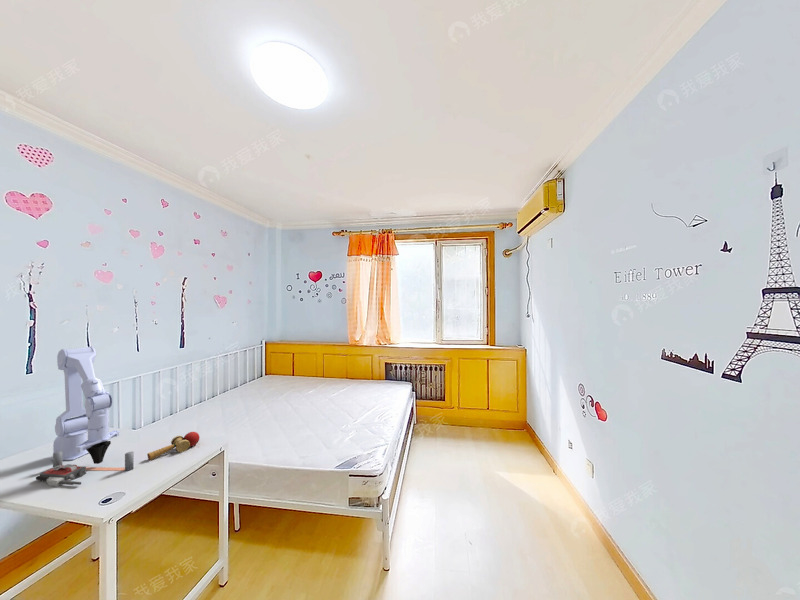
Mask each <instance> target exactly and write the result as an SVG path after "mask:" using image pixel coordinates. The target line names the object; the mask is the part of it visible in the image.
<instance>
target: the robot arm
mask: <svg viewBox="0 0 800 600" xmlns="http://www.w3.org/2000/svg"><path fill="white" fill-rule="evenodd" d="M96 354H97V352H96V348H95V347H93V346H87V347H78V348H77V347H76V348H65V349H64V348H62V349H60V350H59V351H58V353H57V356H56V360H57V361H56V363H57V368H58V369H57V370H60V371H63V375H64V392H65V395H64V397H65V411H63V412H62V413H61V414H59V415H58V416H57V417H56V419H55V425H54V432H55V434H56V436H57V437H56V438H55V439H54V441H53V445H52V446H53V447H52V449H53V450H52V451H53V452H52V454H53V453H55V452H58V451H63V458H62V461H74V460H76V459H78V458H81V457H83V456H86V455H87V454H89V456H91V459H92V462H93V464H94V465H95V464H96V465H97V464H102V463H103V462H104V458H105V454H106V452H107V450H108V449H109V447H110V445H111V444H112V442H111V439H112V438H115V437H119V436H120V430H113V431H109V430H110V426H109V425H110V423H109V422H110V421H109V420H110V419H109V418H110V415H109V414H110V408H111V407H112V405H113V397H112V395H111V393H110V392H109V391H108V390H106V389H105V388H104V384H103V381H102V379H100V378H97V377H96V372H95V369H94V368H95V367H94V365H93V364H94V362H95V360H96V356H97V355H96ZM83 396H84V399H85V401H84V405H83ZM50 460H51V461H53V457H50Z"/></svg>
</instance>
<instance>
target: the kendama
mask: <svg viewBox="0 0 800 600" xmlns="http://www.w3.org/2000/svg"><path fill="white" fill-rule="evenodd" d="M200 438H201V437H200V434H199V432H197V431H190V432H188V433H186V434H185V435H184V437H183V436H182V435H176V436H174V437H173V438H172V439H171V441H170V444H169V445H166V446H164V447H162V448H159V449H156V450H153V451H150V452H148V453H147V459H148V460H149V459H150V460H151V461H152V460H154V459H156V458H158V457H160V456H162V455H165V454H166V453H168V452H170V451H172V450H174V449H175V450H176V451H177V452H178V453H184V452H187V450H188V449H189V448H191V447H193V446H195V445H197V444H198V443H199V442H200ZM183 451H184V452H183ZM150 460H149V461H150Z"/></svg>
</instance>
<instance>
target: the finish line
mask: <svg viewBox="0 0 800 600" xmlns="http://www.w3.org/2000/svg"><path fill="white" fill-rule="evenodd" d="M134 455H135V454H134V451H128V452H126V453H125V454H124V467H98V466H97V467H92V466H91V467H90V466H85V467H86V471H98V472H99V471H104V472H105V471H106V472H109V471H111V472H112V471H114V472H117V471H119V472H124V471H125V472H130V471H132V470H134V462H135V461H134ZM52 458H53V460H52V468H53V467H55V466H59V465H63V460H62V458H63V451H58V452H55V453H53V452H52Z"/></svg>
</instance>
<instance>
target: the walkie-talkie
mask: <svg viewBox="0 0 800 600" xmlns="http://www.w3.org/2000/svg"><path fill="white" fill-rule="evenodd" d="M86 467H87V466H79V465H77V464H71V463H70V464H65V465H63V464H62V465H59V466H55V467H53V466H52V467H51V468H48V469H45V470H43V471H41V472H40V474H39V475H38V476H36V477H35V480H38V481H39V482H42V481H43V482H45V483H47V486H49V487H56V488H57V487H59V486H62V485H63V486H64V485H68V486H70V485H71V486H73V485H79V486H80V485H81V484H82V481H74V480H75V479H78V478H80V477H83V476H84V475H86V474H87V470H86Z"/></svg>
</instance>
